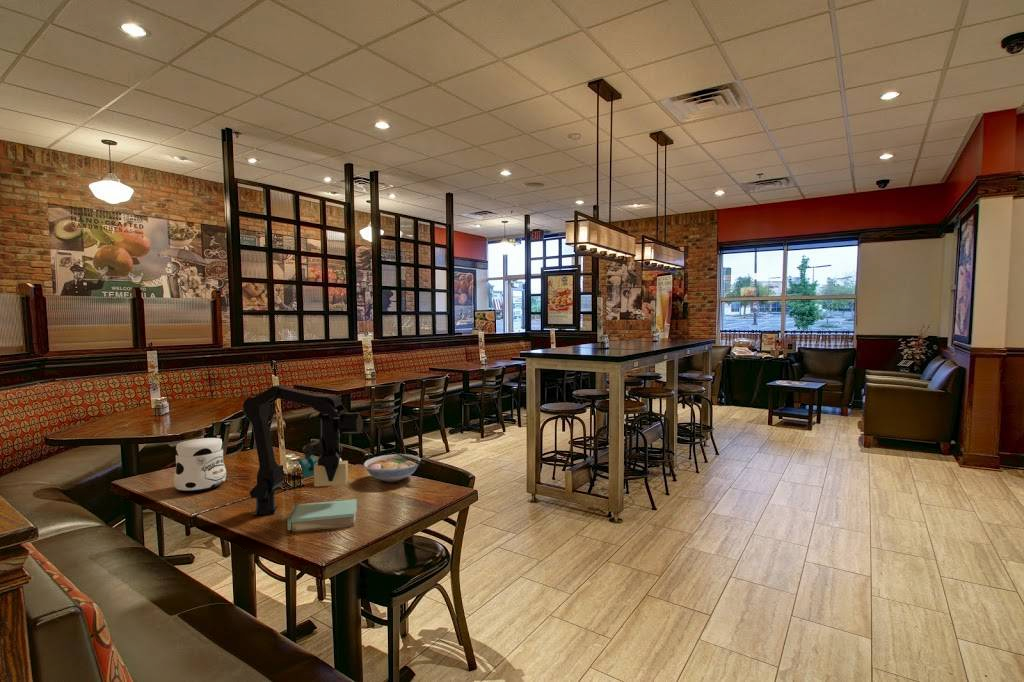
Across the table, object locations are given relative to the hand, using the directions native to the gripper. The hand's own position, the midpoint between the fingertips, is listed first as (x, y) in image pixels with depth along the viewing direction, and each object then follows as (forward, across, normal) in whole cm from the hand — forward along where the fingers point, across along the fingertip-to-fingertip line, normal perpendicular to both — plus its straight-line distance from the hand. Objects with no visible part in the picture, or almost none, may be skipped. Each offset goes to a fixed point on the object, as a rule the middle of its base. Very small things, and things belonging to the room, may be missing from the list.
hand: (331, 479), depth 163 cm
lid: (+11, +6, -2) cm, 13 cm away
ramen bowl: (+12, -31, +21) cm, 40 cm away
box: (+12, +6, -1) cm, 13 cm away
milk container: (+12, -43, -52) cm, 68 cm away
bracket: (+12, -52, -18) cm, 57 cm away
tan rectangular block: (+2, 0, 0) cm, 2 cm away
